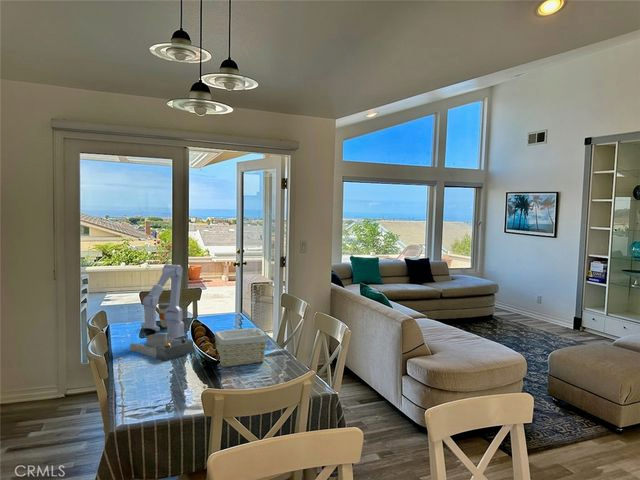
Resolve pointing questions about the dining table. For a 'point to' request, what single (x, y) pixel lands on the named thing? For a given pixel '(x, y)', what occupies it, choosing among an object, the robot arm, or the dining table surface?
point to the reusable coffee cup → (163, 312)
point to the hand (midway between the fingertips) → (150, 341)
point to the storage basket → (240, 346)
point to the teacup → (157, 339)
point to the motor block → (165, 349)
